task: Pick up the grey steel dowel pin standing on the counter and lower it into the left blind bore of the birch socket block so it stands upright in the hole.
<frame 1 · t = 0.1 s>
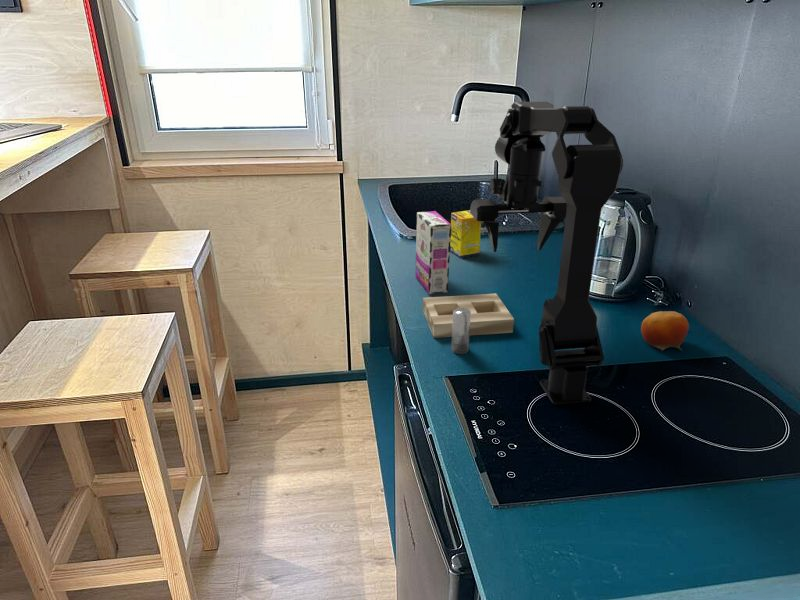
hand: (516, 250, 112), 15 cm above the worktop, tool pointing down, fingers open, 9 cm apart
pin: (459, 349, 106), on the worktop
socket block: (466, 321, 116), on the worktop
candy bar box: (431, 285, 133), on the worktop
fruit: (661, 344, 108), on the worktop
supplement box: (464, 254, 151), on the worktop
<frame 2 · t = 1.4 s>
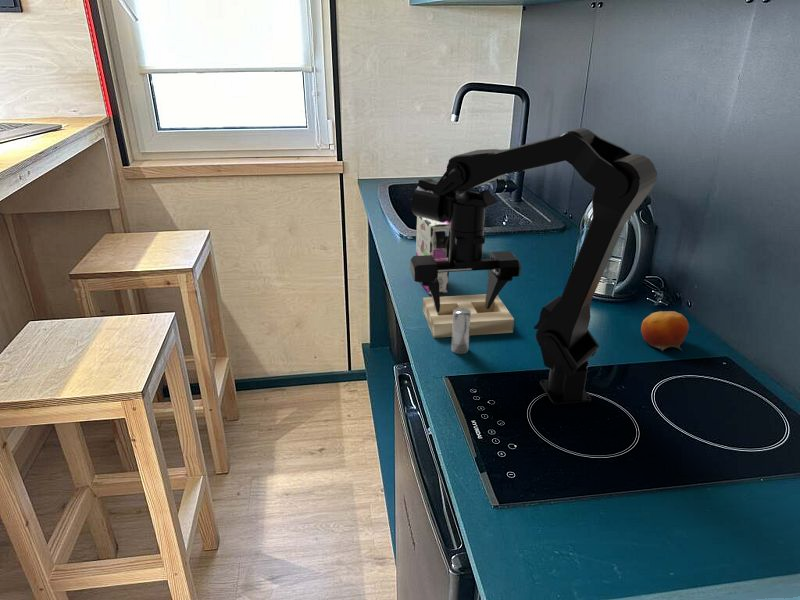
hand: (462, 309, 102), 8 cm above the worktop, tool pointing down, fingers open, 9 cm apart
nothing on the worktop moved.
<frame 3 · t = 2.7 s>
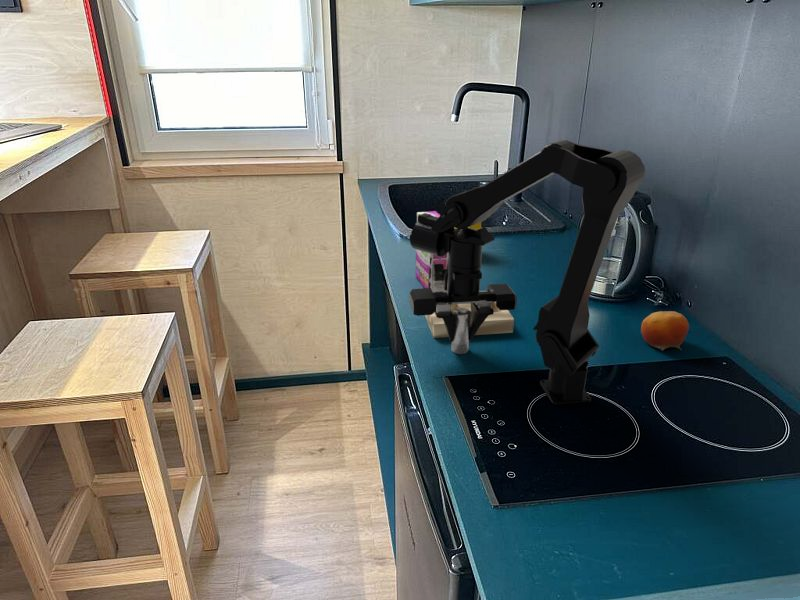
hand: (460, 340, 105), 2 cm above the worktop, tool pointing down, fingers closed on pin, 3 cm apart
pin: (459, 349, 106), on the worktop, touching gripper
everything else where it was.
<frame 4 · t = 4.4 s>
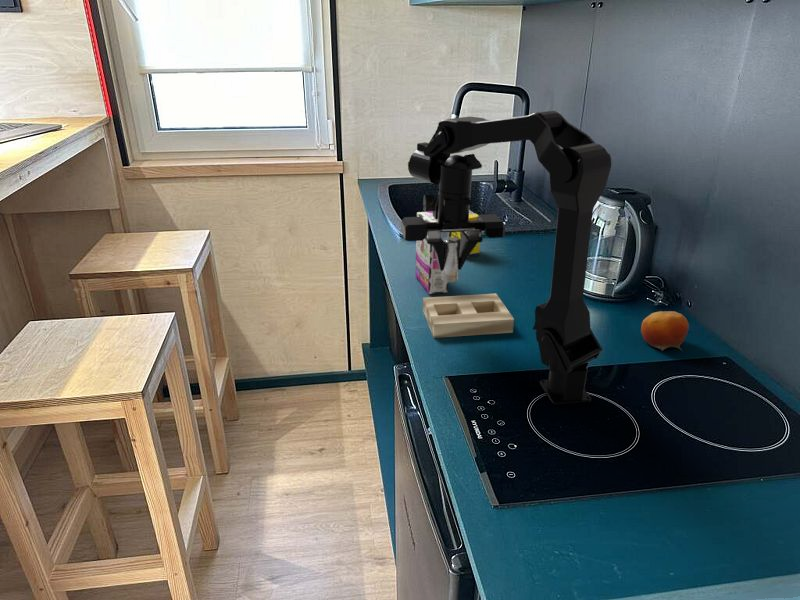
hand: (450, 269, 108), 13 cm above the worktop, tool pointing down, fingers closed on pin, 3 cm apart
pin: (449, 278, 109), point 11 cm above the worktop, touching gripper
everything else where it was.
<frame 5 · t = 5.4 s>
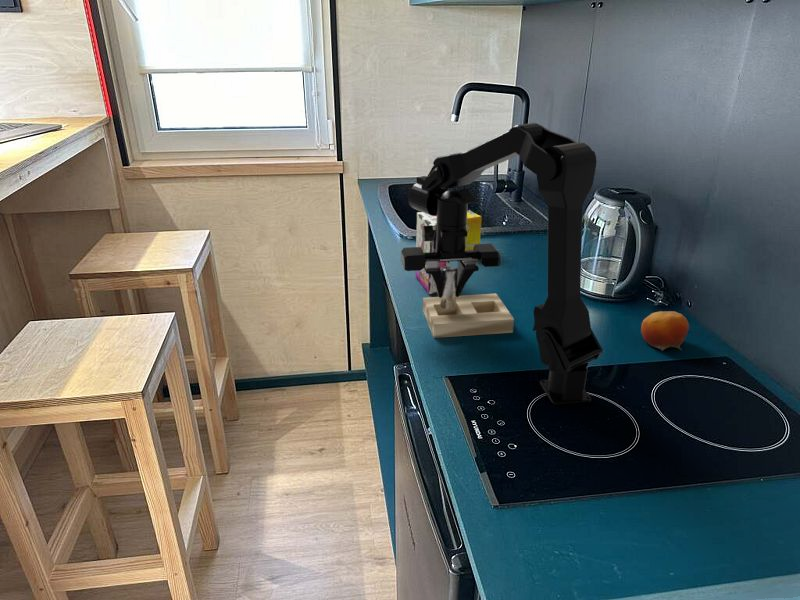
hand: (448, 296, 113), 6 cm above the worktop, tool pointing down, fingers closed on pin, 3 cm apart
pin: (448, 305, 114), point 4 cm above the worktop, touching gripper
everything else where it was.
when the fingers open (4 cm above the worktop, at t = 6.0 s): pin drops 2 cm, resting on socket block.
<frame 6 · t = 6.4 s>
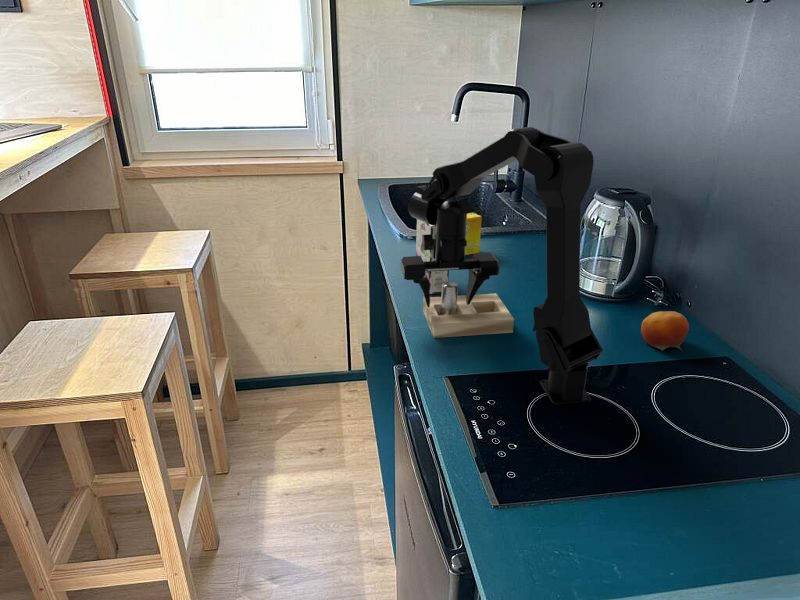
hand: (447, 304, 114), 4 cm above the worktop, tool pointing down, fingers open, 8 cm apart
pin: (447, 320, 115), resting on socket block
everything else where it was.
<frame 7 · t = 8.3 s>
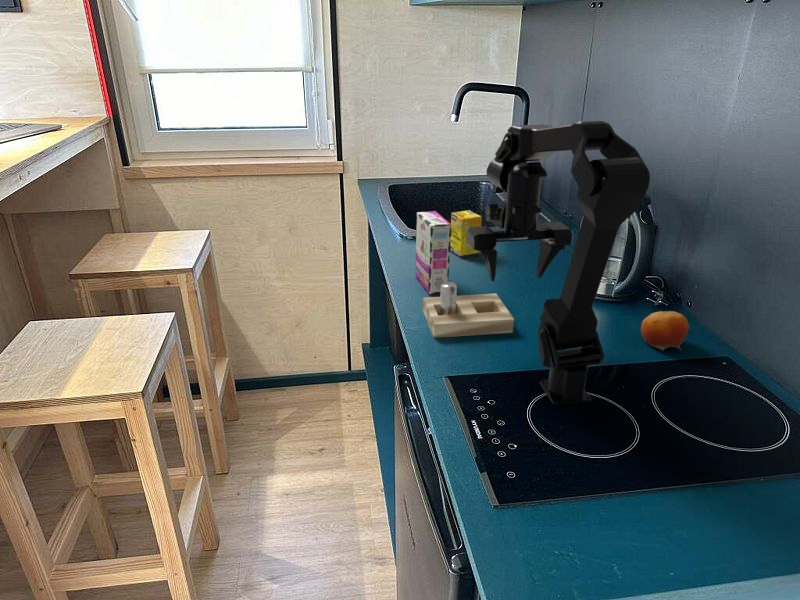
hand: (515, 279, 107), 12 cm above the worktop, tool pointing down, fingers open, 9 cm apart
nothing on the worktop moved.
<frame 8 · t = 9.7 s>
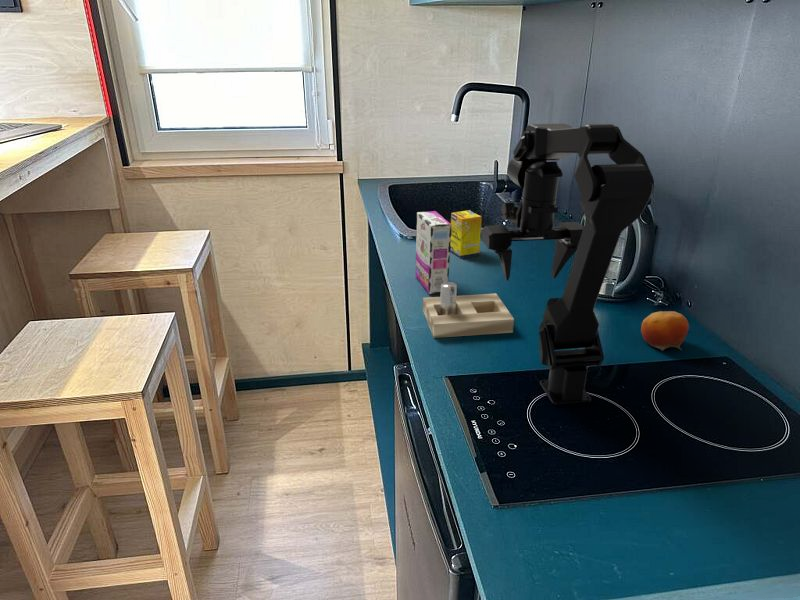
hand: (530, 278, 106), 12 cm above the worktop, tool pointing down, fingers open, 9 cm apart
nothing on the worktop moved.
at the end: pin 0.0 cm from the target spot on the socket block, point 0.4 cm above the socket block's base; pin tilted 0°; the gripper is holding nothing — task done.
